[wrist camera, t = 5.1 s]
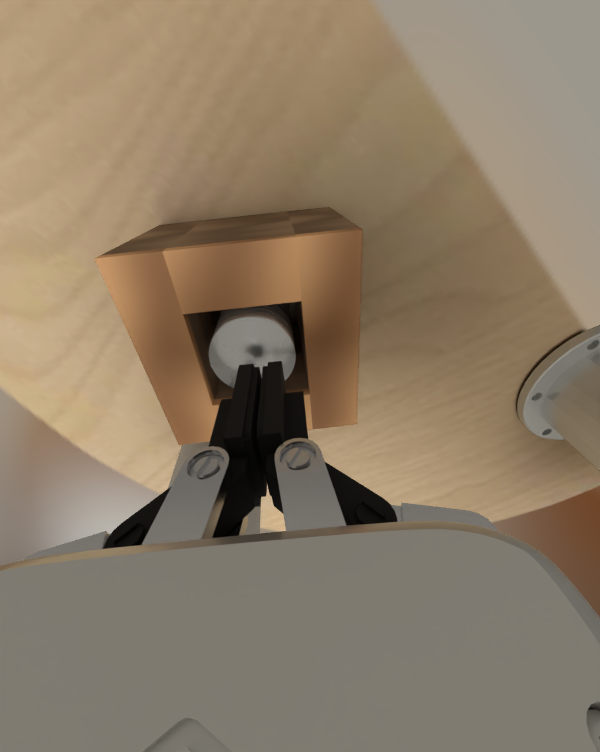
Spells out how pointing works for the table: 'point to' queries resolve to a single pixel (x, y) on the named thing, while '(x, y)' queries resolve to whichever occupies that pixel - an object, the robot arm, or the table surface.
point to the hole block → (239, 290)
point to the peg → (252, 340)
